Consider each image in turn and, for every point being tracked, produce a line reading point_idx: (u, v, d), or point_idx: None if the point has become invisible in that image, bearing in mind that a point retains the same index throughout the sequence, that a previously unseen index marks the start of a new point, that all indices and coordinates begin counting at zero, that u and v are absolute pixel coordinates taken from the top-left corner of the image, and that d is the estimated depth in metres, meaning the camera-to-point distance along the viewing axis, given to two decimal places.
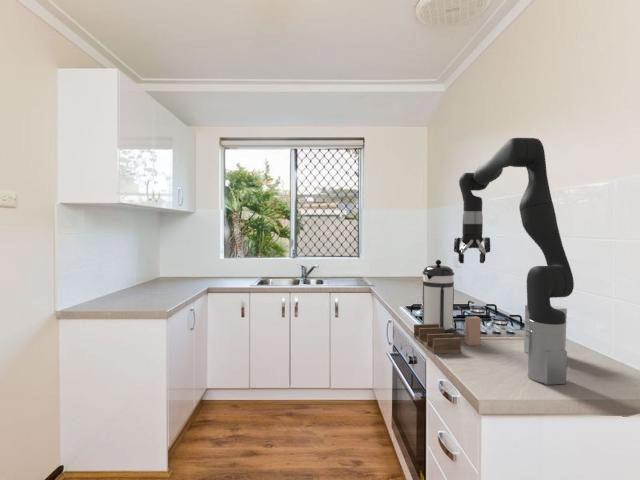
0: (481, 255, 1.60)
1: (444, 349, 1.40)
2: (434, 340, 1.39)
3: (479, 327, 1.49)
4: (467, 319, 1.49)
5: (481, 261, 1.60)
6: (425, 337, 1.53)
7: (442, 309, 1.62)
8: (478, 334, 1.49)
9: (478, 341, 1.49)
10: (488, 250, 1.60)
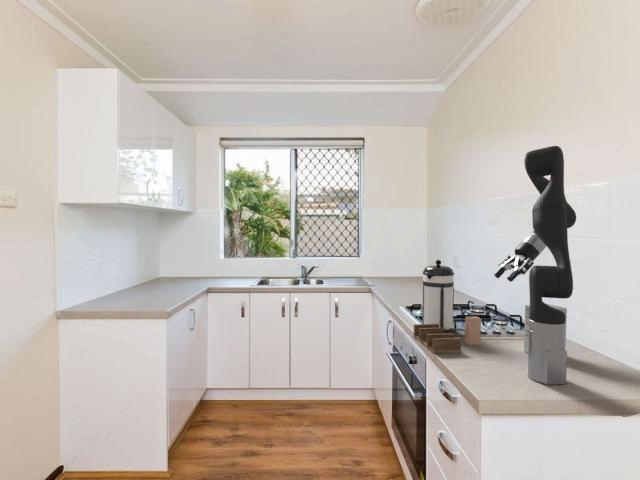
0: None
1: (444, 349, 1.40)
2: (434, 340, 1.39)
3: (479, 327, 1.49)
4: (467, 319, 1.49)
5: None
6: (425, 337, 1.53)
7: (442, 309, 1.62)
8: (478, 334, 1.49)
9: (478, 341, 1.49)
10: (519, 268, 1.44)
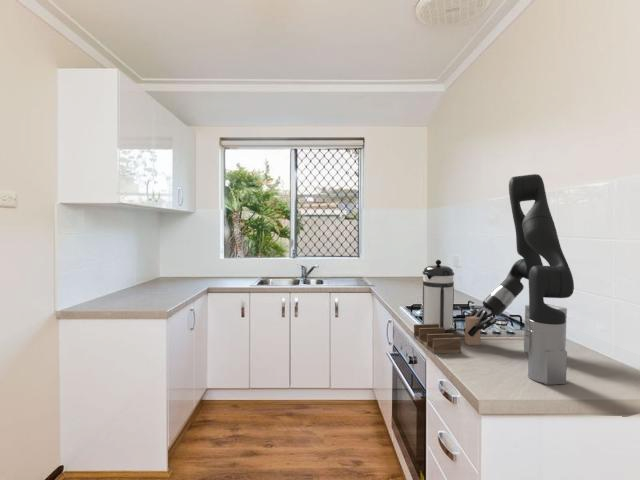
0: None
1: (444, 349, 1.40)
2: (434, 340, 1.39)
3: None
4: (467, 319, 1.49)
5: None
6: (425, 337, 1.53)
7: (442, 309, 1.62)
8: (478, 334, 1.49)
9: (478, 341, 1.49)
10: (479, 324, 1.46)
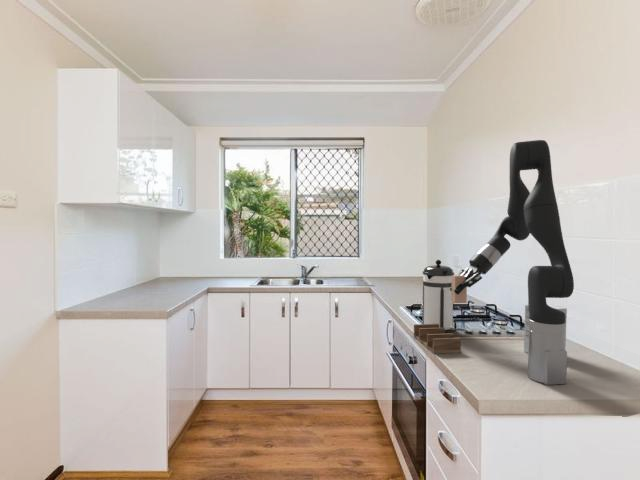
0: None
1: (444, 349, 1.40)
2: (434, 340, 1.39)
3: None
4: (453, 277, 1.49)
5: None
6: (425, 337, 1.53)
7: (442, 309, 1.62)
8: (464, 292, 1.48)
9: (464, 299, 1.48)
10: (465, 281, 1.45)
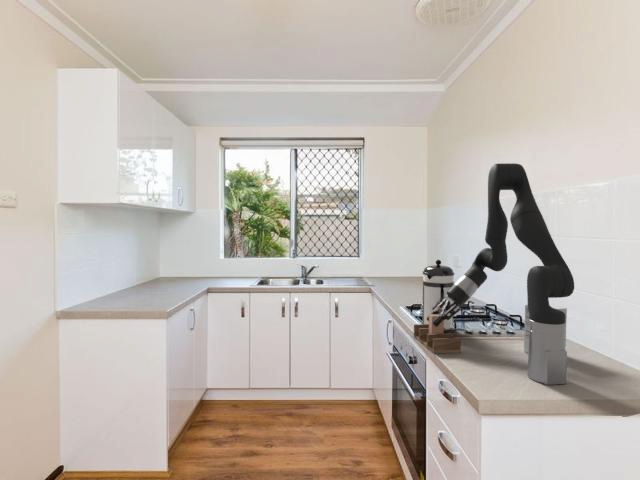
0: None
1: (444, 349, 1.40)
2: (434, 340, 1.39)
3: (442, 325, 1.48)
4: (430, 317, 1.49)
5: None
6: (425, 337, 1.53)
7: None
8: (441, 332, 1.48)
9: None
10: (444, 314, 1.44)
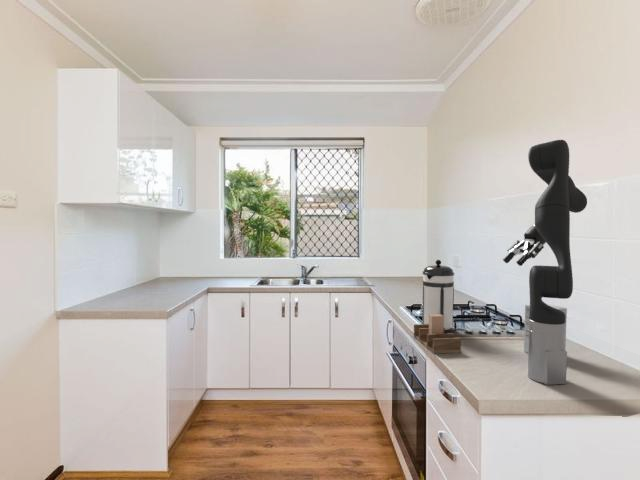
0: None
1: (444, 349, 1.40)
2: (434, 340, 1.39)
3: (442, 325, 1.48)
4: (430, 317, 1.49)
5: None
6: (425, 337, 1.53)
7: (442, 309, 1.62)
8: (441, 332, 1.48)
9: None
10: (529, 252, 1.42)
